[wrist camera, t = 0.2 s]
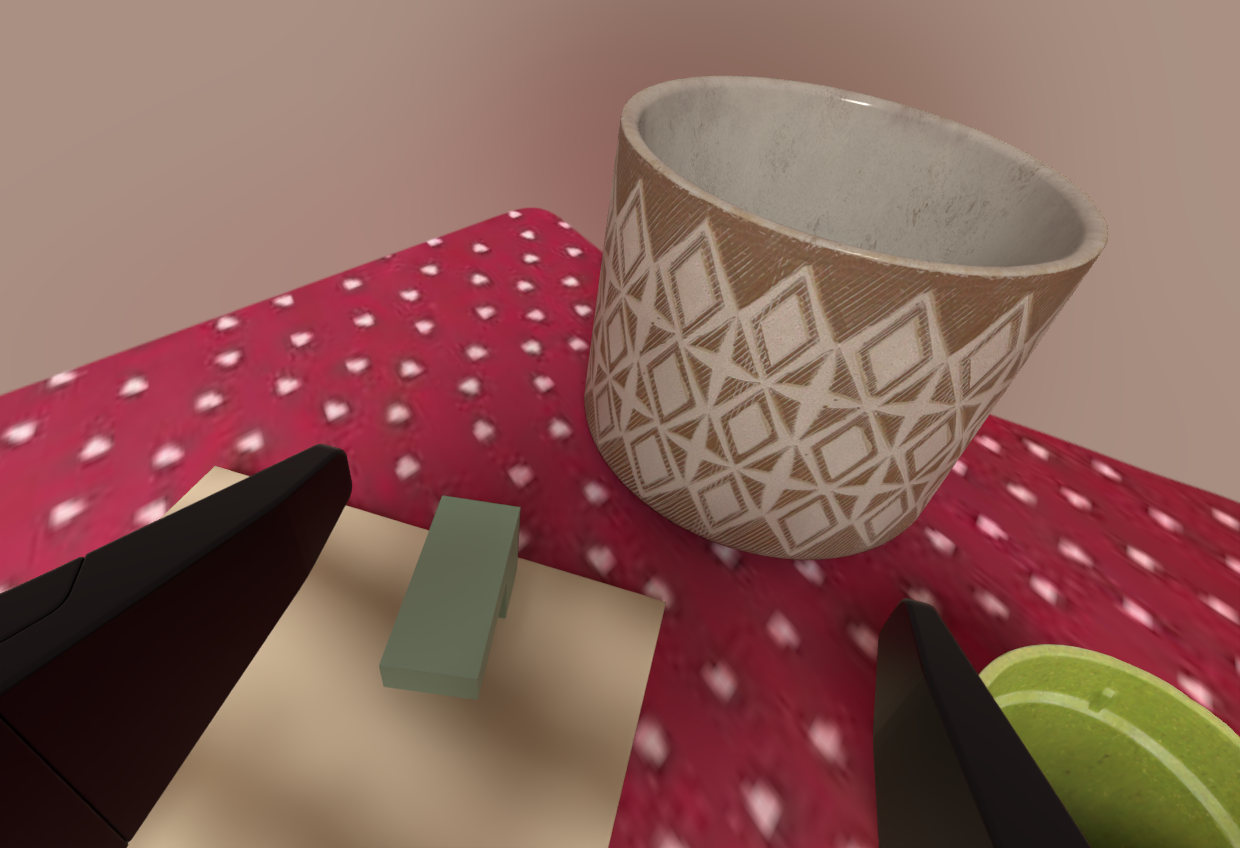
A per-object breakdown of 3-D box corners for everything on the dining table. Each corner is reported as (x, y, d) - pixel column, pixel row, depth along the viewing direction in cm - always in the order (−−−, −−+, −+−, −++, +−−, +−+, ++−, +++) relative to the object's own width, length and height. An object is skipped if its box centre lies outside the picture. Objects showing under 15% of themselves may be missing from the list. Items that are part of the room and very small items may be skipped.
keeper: (478, 748, 23) (477, 679, 20) (394, 736, 23) (378, 665, 20) (516, 584, 29) (520, 507, 25) (447, 574, 28) (442, 495, 25)
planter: (587, 325, 44) (622, 53, 33) (863, 357, 46) (983, 109, 35) (570, 564, 30) (620, 225, 19) (971, 599, 31) (1232, 307, 20)
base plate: (363, 1871, 11) (353, 1930, 10) (-647, 1352, 13) (-722, 1366, 12) (660, 617, 28) (665, 601, 28) (222, 483, 30) (215, 466, 30)
